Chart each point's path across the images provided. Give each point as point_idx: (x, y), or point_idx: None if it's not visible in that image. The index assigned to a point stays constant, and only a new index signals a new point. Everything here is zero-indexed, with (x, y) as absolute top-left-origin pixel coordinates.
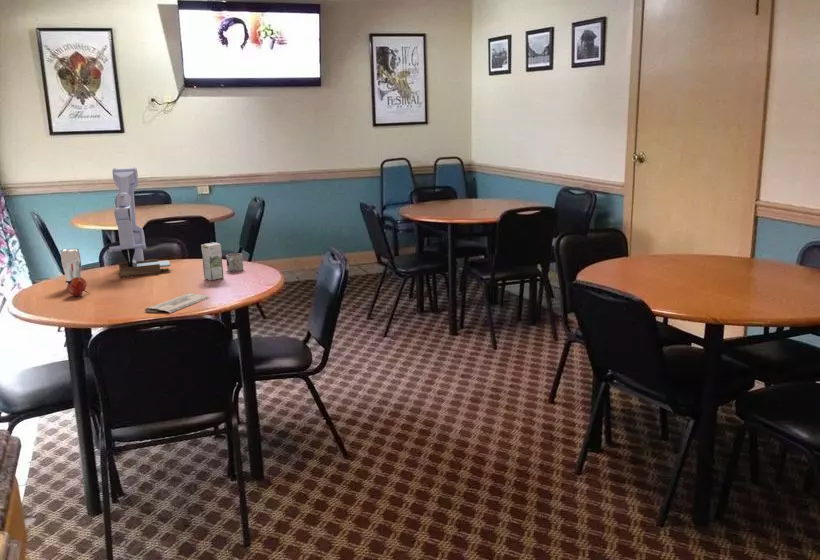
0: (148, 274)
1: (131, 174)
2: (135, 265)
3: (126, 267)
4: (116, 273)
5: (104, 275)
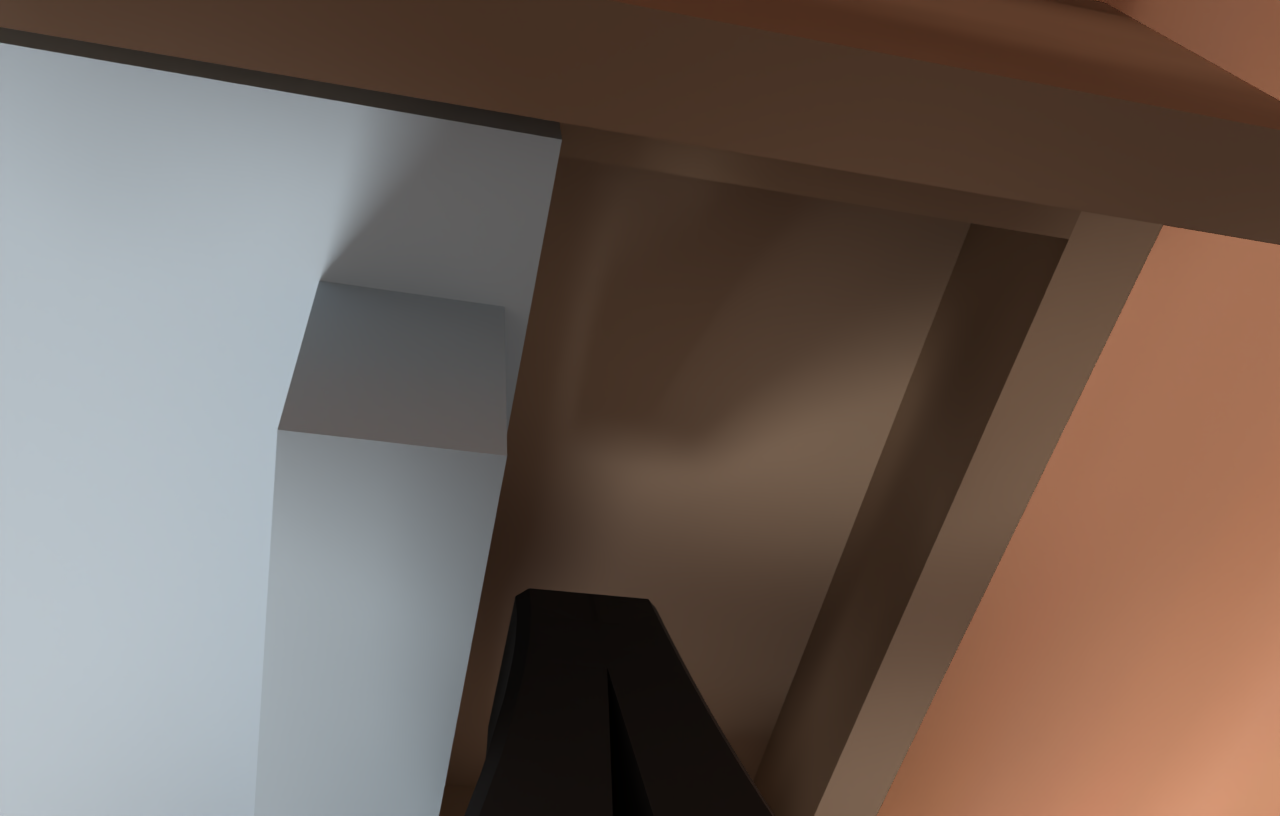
0: None
1: None
2: (383, 353)
3: (949, 179)
4: None
5: (1194, 723)
